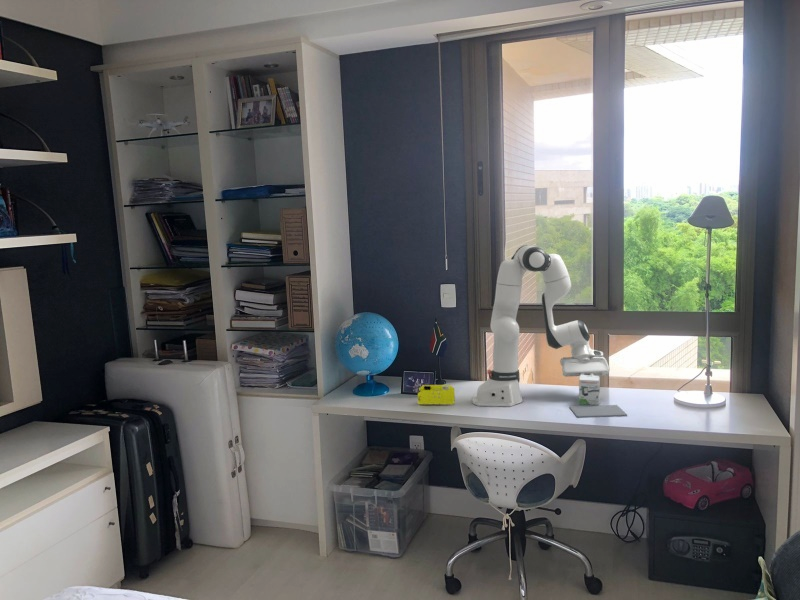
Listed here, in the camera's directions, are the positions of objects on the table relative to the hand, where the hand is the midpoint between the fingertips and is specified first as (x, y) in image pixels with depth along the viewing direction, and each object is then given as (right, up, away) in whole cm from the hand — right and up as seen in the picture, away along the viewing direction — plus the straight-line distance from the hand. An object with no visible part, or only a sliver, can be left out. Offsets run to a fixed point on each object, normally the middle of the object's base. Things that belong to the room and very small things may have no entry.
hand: (588, 383), depth 281 cm
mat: (0, -10, -14) cm, 17 cm away
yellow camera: (-66, -11, +9) cm, 67 cm away
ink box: (0, -8, -1) cm, 8 cm away
